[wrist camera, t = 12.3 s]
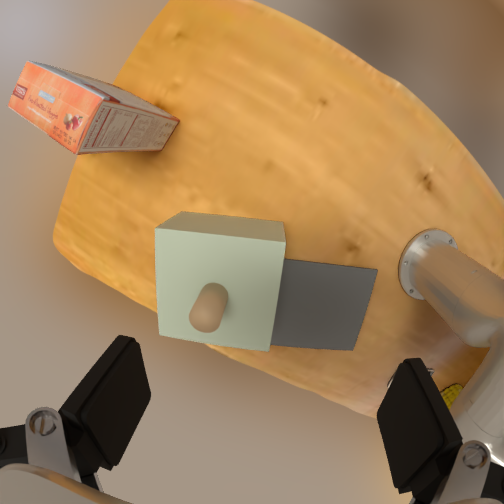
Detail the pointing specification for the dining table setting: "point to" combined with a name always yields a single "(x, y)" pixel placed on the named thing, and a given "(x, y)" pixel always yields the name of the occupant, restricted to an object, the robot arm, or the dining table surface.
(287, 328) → the mat
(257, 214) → the dining table surface
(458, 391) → the food
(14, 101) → the cracker box
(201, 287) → the pale green box
